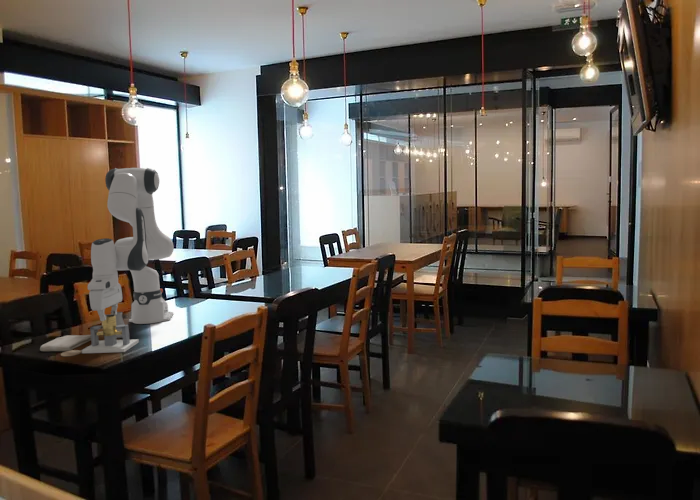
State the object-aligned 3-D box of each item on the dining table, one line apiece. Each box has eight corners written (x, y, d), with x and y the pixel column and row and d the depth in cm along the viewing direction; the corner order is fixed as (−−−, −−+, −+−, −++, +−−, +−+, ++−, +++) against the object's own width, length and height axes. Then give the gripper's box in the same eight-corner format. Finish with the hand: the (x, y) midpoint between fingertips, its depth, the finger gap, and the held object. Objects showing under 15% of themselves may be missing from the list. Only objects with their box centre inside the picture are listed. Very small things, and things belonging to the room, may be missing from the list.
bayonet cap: (100, 333, 227) (99, 313, 227) (124, 332, 227) (123, 312, 226) (94, 336, 222) (93, 316, 222) (119, 335, 222) (117, 315, 221)
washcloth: (93, 340, 240) (93, 332, 240) (69, 352, 223) (68, 344, 222) (65, 340, 241) (65, 333, 241) (39, 353, 224) (38, 345, 223)
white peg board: (98, 343, 233) (96, 322, 232) (138, 342, 232) (137, 321, 231) (81, 353, 219) (79, 331, 218) (124, 352, 218) (122, 329, 217)
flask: (123, 338, 239) (121, 314, 238) (107, 338, 241) (105, 314, 240) (133, 334, 246) (131, 310, 245) (117, 334, 248) (115, 310, 247)
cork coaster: (66, 351, 222) (66, 350, 222) (84, 350, 222) (84, 349, 222) (57, 356, 215) (56, 355, 215) (75, 356, 215) (75, 355, 215)
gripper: (109, 278, 233) (112, 312, 234) (85, 286, 213) (88, 323, 214) (125, 277, 233) (127, 312, 234) (102, 285, 213) (105, 323, 214)
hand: (108, 317), depth 224 cm, fingers open, 8 cm apart
